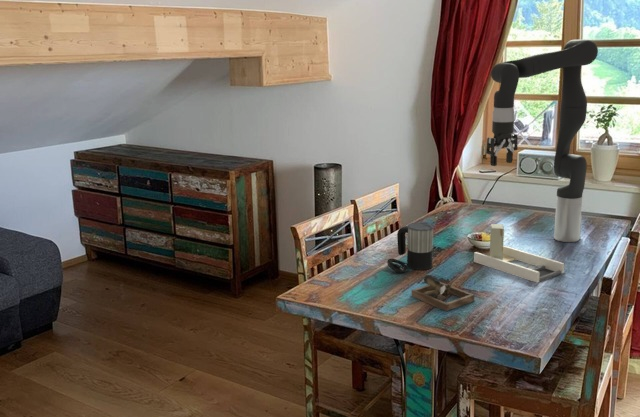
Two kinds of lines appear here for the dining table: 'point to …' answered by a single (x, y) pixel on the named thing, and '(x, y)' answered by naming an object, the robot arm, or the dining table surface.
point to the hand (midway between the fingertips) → (501, 164)
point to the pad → (507, 258)
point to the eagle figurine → (436, 287)
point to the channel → (517, 269)
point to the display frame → (440, 304)
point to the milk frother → (414, 247)
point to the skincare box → (496, 241)
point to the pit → (546, 273)
